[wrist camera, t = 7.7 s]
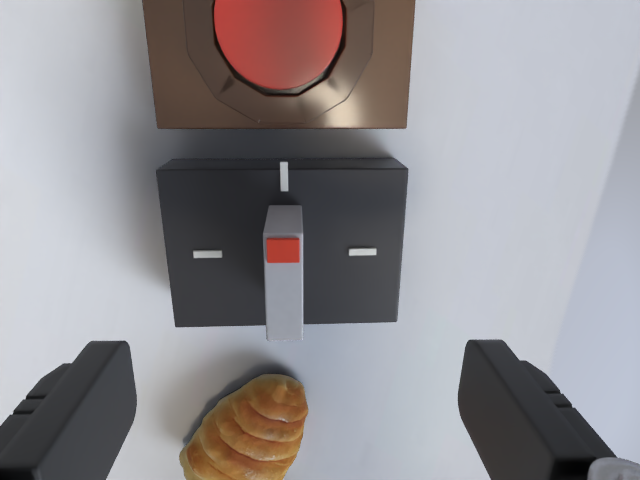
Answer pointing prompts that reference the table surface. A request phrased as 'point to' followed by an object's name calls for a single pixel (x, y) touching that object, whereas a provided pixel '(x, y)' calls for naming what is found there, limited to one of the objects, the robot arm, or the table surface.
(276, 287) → the grey block red tab
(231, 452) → the pastry
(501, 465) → the robot arm
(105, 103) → the table surface
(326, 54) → the button
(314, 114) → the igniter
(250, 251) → the panel
